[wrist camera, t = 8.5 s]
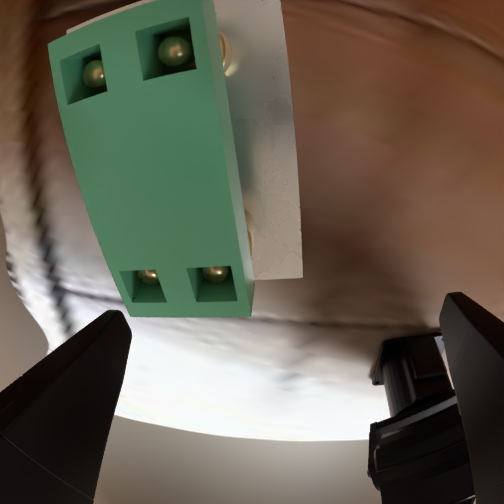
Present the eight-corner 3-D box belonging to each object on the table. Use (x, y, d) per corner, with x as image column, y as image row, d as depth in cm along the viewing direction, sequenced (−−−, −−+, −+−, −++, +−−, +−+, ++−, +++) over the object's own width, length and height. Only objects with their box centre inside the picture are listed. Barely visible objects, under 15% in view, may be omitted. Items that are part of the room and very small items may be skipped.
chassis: (302, 268, 21) (306, 328, 17) (137, 275, 23) (109, 328, 18) (276, -20, 12) (275, -56, 7) (75, 30, 13) (15, 31, 9)
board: (254, 283, 17) (251, 316, 15) (145, 287, 18) (130, 316, 16) (213, 2, 10) (199, -11, 8) (79, 42, 11) (47, 44, 8)
